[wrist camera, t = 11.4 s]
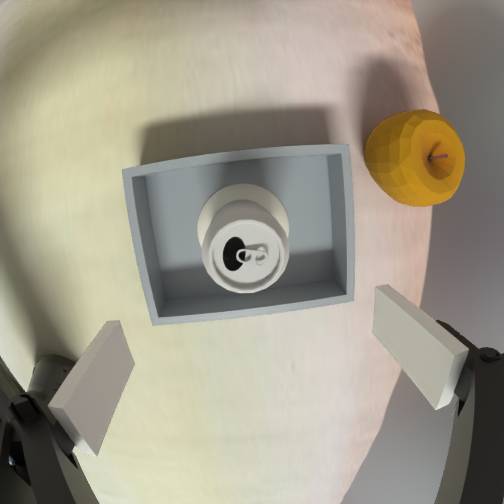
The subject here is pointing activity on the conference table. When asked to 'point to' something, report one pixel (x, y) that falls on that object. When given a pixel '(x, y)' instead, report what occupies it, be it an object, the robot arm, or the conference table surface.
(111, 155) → the conference table surface
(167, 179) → the walled box
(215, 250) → the can
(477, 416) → the robot arm
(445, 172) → the apple
